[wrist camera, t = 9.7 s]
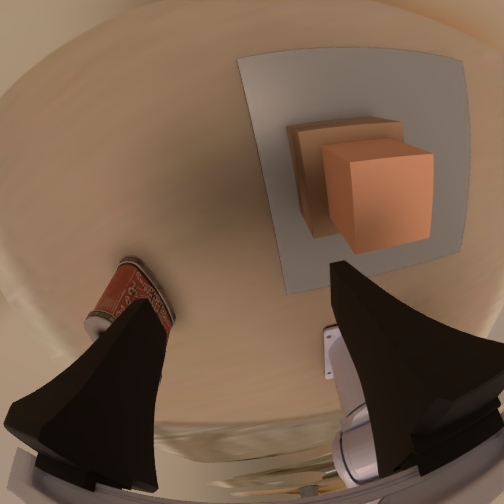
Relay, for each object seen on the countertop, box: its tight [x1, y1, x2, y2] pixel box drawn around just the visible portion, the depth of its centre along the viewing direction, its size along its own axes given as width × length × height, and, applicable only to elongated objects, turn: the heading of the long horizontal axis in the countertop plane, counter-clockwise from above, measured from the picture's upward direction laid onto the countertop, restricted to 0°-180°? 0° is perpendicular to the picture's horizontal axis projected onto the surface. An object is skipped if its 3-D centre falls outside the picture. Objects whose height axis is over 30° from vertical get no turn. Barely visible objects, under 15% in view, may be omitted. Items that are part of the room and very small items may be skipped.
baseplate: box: [237, 47, 471, 295], centre depth 17 cm, size 18×18×1 cm
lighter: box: [84, 256, 176, 385], centre depth 19 cm, size 8×3×10 cm, turn 17°
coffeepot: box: [299, 485, 318, 498], centre depth 74 cm, size 15×9×18 cm, turn 77°
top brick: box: [321, 138, 434, 255], centre depth 12 cm, size 4×4×4 cm
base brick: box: [286, 117, 404, 239], centre depth 15 cm, size 6×6×4 cm
